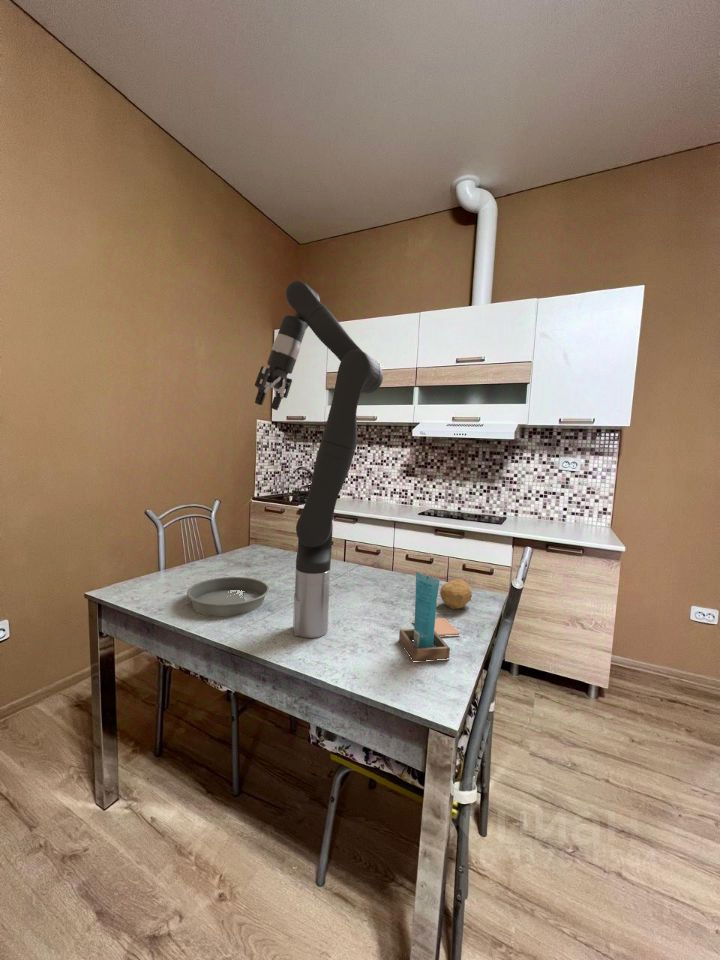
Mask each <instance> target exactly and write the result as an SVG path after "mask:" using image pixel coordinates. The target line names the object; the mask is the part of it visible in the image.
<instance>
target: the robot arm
mask: <svg viewBox="0 0 720 960" xmlns="http://www.w3.org/2000/svg"><path fill="white" fill-rule="evenodd" d="M285 298H286V301H287V302H288V305H290V307H291V308H292V309H293V310H294V311H295V314H294V315H289V314H288V315H285V316H283V318H282V319H281V320H282V321H281V323H280V326H279V329H278V333H277V335H276V337H275V339H274V341H273V344H272V348H271V349H270V350H271V351H270V353H269V357H268V359H267V362H266V364H267V366H268V367H267V366H264V365H262V366H261V367H260V370H259V373H258V374H257V377H256V380H255V383H254V387H256V388H257V390H258V391H257V392H256V397H255V401H254V403H255V404H256V405H259V406H263V405H264V402H265V398H266V395H267V392H268V391H269V390H270V389H273V390H274V396H273V400H272V403H271V405H270V409H272V410H275V411H278V410H279V408H280V404H281V401H282V400H283V399H284V398H285V399H287V397H288V395H289V392H290V389H291V385H292V382H293V379H292V378H289V377H288V374H289V375H291V374H292V373H293V370H294V368H295V365H296V362H297V358H298V356H299V354H300V349H301V345H302V342H303V339H304V336H305V334H306V330H307V329H308V327H309V328H310V330H311V331H312V332H313V333H314V334H315V336H316V337H317V338H318V340H319V341H320V342H321V343H322V344H323V345H324V346H325V347H326V348H327V349H328V350H329V351H330V352H331V353H332V354H334V356H336V358H337V359H338V360H339V361H340V364H339V365H338V369H337V372H336V373H337V374H336V379H335V384H334V391H333V397H332V401H331V405H330V407H329V413H328V416H327V420H326V423H325V427H324V431H323V434H322V435H321V441H320V443H319V447H318V449H317V450H318V451H317V454H316V457H315V463H314V467H313V471H312V476H311V479H312V480H311V484H310V488H309V491H308V495H307V498H306V501H305V504H304V506H303V508H302V511H301V513H300V514H299V515H300V516H299V518H298V520H297V522H296V525H295V531H296V537H297V538H298V541H297V552H296V557H295V577H294V578H295V579H294V580H295V582H294V585H295V586H294V594H293V615H292V617H293V618H292V619H293V621H292V629H293V635H294V637H300V638H305V639H314V638H319V637H323V636H325V635H326V634H327V633H328V629H329V610H330V609H329V607H330V605H329V604H330V584H331V583H330V582H331V564H332V563H331V561H332V550H333V549H332V548H333V547H332V546H333V531H334V529H333V528H334V527H333V519H334V513H335V507H336V505H337V500H338V497H339V494H340V492H341V491H342V488H343V485H344V484H345V481H346V478H347V477H348V474H349V471H350V468H351V466H352V462H353V459H354V457H355V453H356V449H357V444H358V425H357V424H358V422H357V414H358V413H357V410H358V405H359V401H360V397H361V394H371V393H375V392H376V391H377V390H378V389H379V388H380V387H381V385H382V383H383V381H384V380H383V379H384V372H383V369H382V367H381V365H380V363H379V362H378V361H377V360H376V359H374V358H373V357H371V355H369V354H368V353H366V352H365V351H363V350H362V349H361V348H360V346H358V345H357V343H356V342H355V341H354V340H353V339H352V337H350V335H349V334H348V332H347V331H346V330H345V329H344V327H343V326H342V325H341V323H340V322H339V321H338V319H337V318H336V317H335V316H334V315H333V313H332V312H331V311H330V309H329V308H328V307H327V306H325V304H323V303H322V302H321V300H320V299H321V297H320V296H319V293H317V292H316V291H315V290H314V289H313V288H312V287H310V286H309V285H308V284H307V283H305V282H304V281H302V280H293V281H291V282H290V283H289V284H288V285H287V287H286V290H285Z"/></svg>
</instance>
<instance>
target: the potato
mask: <svg viewBox="0 0 720 960" xmlns="http://www.w3.org/2000/svg"><path fill="white" fill-rule="evenodd" d="M439 594H440V598H441V600H442V601H443V603H444V604H445V605H446V606H447V607H449V608H451V609H453V608H457V609H461V608H463V607H465V606H466V605H467V604H468V603H469V602H470V601H471V600H472V597H473V594H472V589H471V587H470V585H469V583H467V582H466V581H465V580H463V579H461V578H456V579H455V578H454V579H452V580H450V581H447V582H446V583H444V584H443V585H442V586H441V588H440V590H439Z"/></svg>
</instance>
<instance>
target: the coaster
mask: <svg viewBox="0 0 720 960" xmlns="http://www.w3.org/2000/svg"><path fill="white" fill-rule="evenodd" d="M413 622H414V623H415V619H412V623H413ZM414 623H413V624H414ZM434 631H435V632H436V633H437V634H438V635H439V636H445V635H459V634H460V632H459V631H458V630H457V628H455V627H454V626H453V625H452V624H451V623H450V622H449V621H448V620H447V619H446V618H443V617H440V618H435V627H434ZM460 635H461V634H460Z"/></svg>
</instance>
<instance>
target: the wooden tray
mask: <svg viewBox="0 0 720 960" xmlns="http://www.w3.org/2000/svg"><path fill="white" fill-rule="evenodd" d="M398 637H399V638H398V641H399V643H400V642H401V643H400V644H401V645H403V646H402V648H403V649H404V648H405V649H404V651H405V652H406V651H407V652H408V653H407V652H406V653H407V655H408V654H409V655H410V656H409V655H408V656H409V658H410V657H411V658H412V660H413V661H426V660H437V659H447V658H449V659H450V651H451V648H450V646H449V645H448V644H447V643H446V642H445V641H444V640H443V639H442V637H440V636H439V635H438V634H437V633H436V632H435V631H434V641H433V644H434V645H435V646H436V647H435V646H434V645H433V647H432V648H417V649H416V648H415V646H414V645H413V644H414V642H413V641H412V640H414V628H405V629H404V628H403V629H402V628H401V629H399V636H398ZM411 658H410V659H411ZM412 660H411V661H412ZM413 661H412V662H413Z"/></svg>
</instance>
